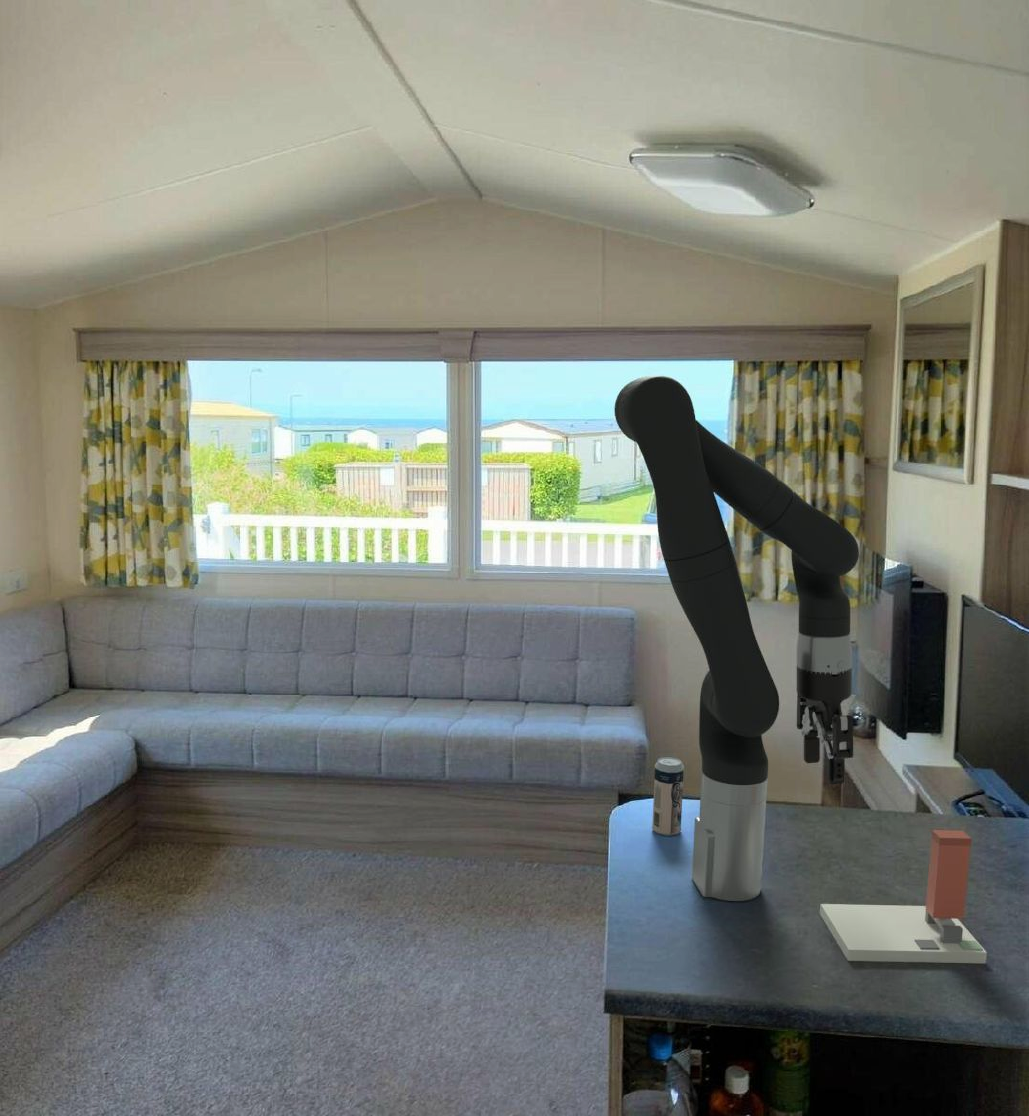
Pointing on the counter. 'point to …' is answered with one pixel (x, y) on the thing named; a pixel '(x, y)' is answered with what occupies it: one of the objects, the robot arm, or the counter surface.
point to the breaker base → (898, 935)
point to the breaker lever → (948, 876)
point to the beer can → (668, 796)
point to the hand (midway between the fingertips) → (823, 772)
